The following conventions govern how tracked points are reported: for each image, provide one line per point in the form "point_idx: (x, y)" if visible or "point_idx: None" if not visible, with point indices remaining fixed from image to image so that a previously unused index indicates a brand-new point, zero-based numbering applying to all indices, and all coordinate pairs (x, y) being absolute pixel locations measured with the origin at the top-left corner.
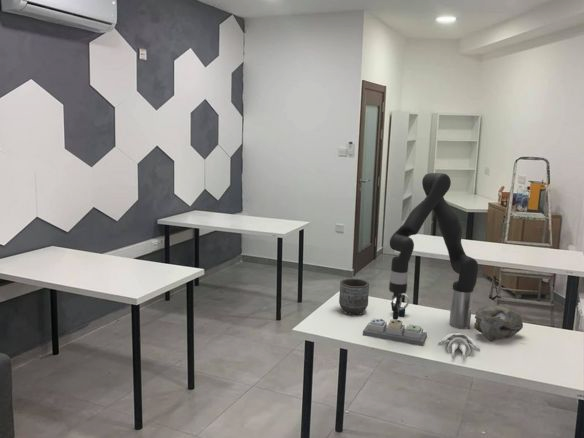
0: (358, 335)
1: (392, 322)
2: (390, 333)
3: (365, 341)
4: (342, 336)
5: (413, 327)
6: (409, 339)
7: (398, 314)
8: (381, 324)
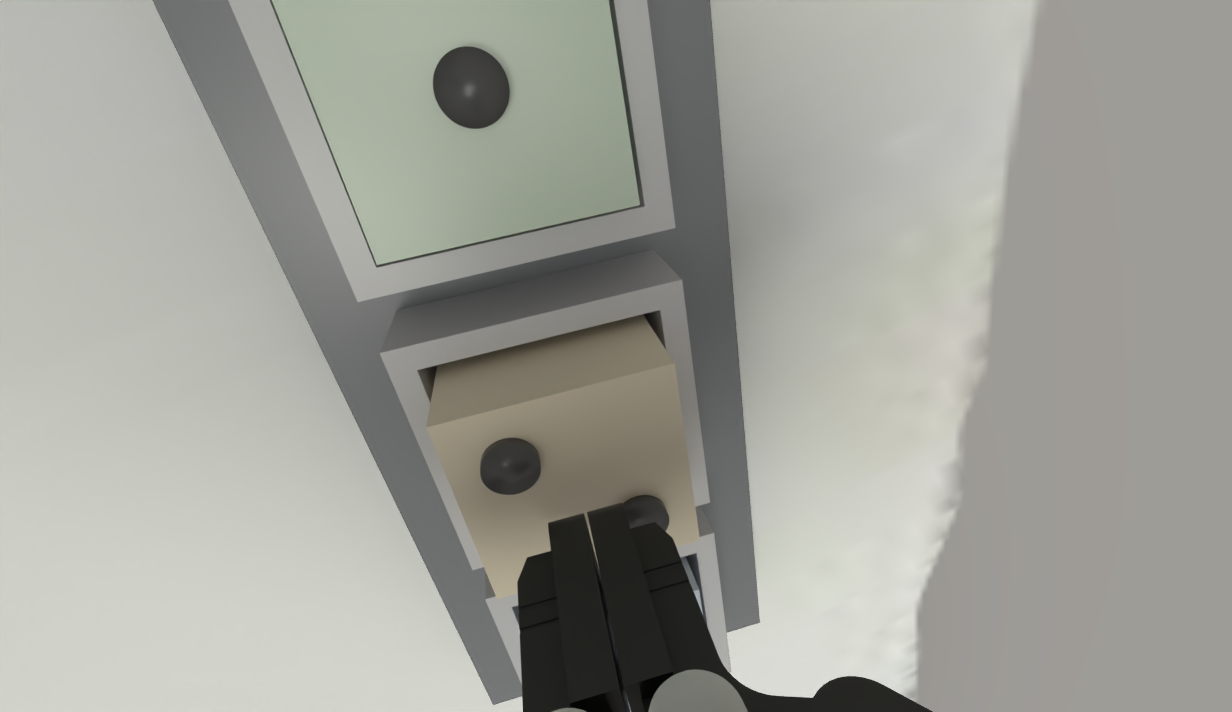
0: (768, 598)
1: (665, 511)
2: None
3: (871, 497)
4: (851, 651)
5: (506, 94)
6: (712, 75)
7: (577, 599)
8: (696, 584)
